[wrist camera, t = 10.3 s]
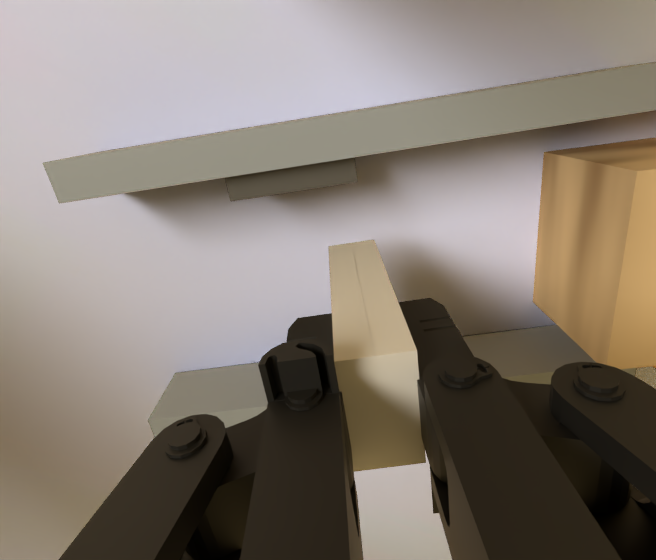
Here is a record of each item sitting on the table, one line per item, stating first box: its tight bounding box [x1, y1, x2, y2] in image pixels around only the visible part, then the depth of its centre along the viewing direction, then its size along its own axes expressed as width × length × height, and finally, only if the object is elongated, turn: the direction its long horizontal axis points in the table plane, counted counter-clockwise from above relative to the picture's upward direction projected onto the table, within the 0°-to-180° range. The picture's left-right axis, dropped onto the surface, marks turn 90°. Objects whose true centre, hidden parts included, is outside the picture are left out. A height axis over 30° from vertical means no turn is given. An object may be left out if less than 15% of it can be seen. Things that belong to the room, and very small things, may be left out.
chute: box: [43, 62, 656, 437], centre depth 14 cm, size 21×11×5 cm, turn 99°
